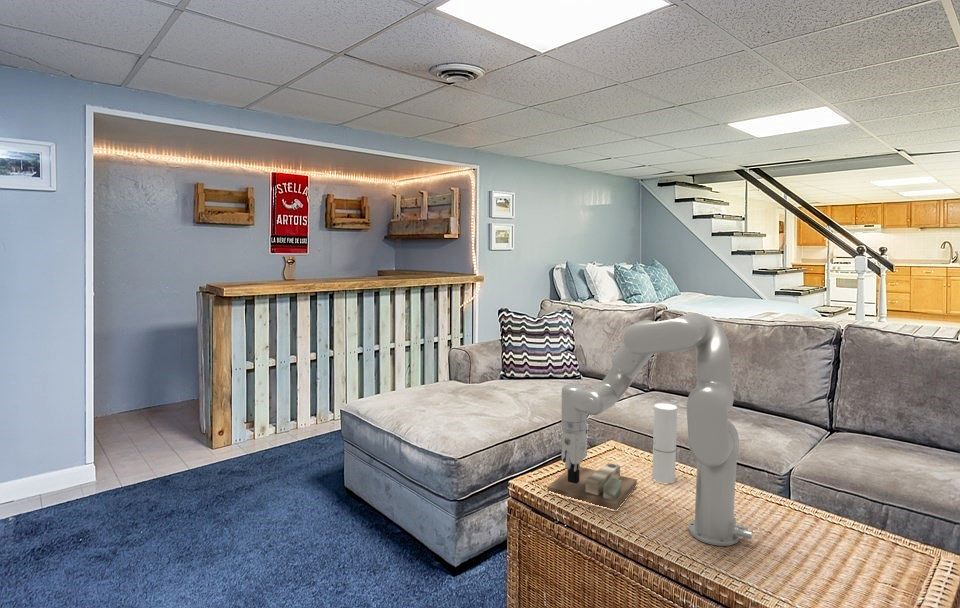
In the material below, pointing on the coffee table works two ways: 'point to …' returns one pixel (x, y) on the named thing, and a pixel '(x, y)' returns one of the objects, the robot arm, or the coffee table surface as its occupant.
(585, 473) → the brown board with blocks
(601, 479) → the folding leg
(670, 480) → the cylindrical container
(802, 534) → the coffee table surface
